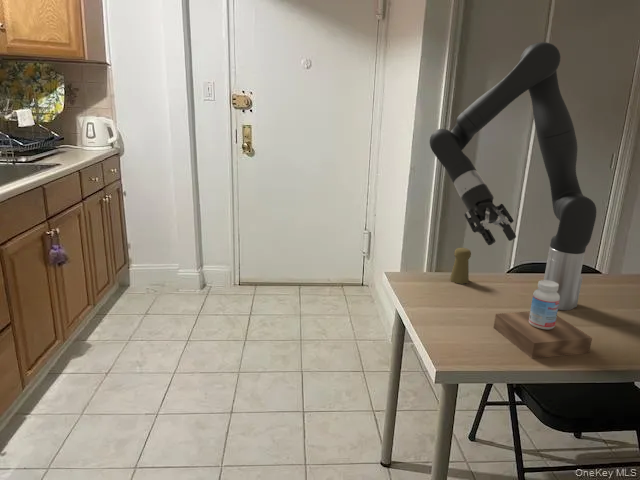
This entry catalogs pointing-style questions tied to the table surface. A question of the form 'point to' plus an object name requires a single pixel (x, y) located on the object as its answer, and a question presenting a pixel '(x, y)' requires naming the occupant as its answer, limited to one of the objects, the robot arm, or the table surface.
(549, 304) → the pill bottle
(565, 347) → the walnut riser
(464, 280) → the cork
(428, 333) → the table surface
